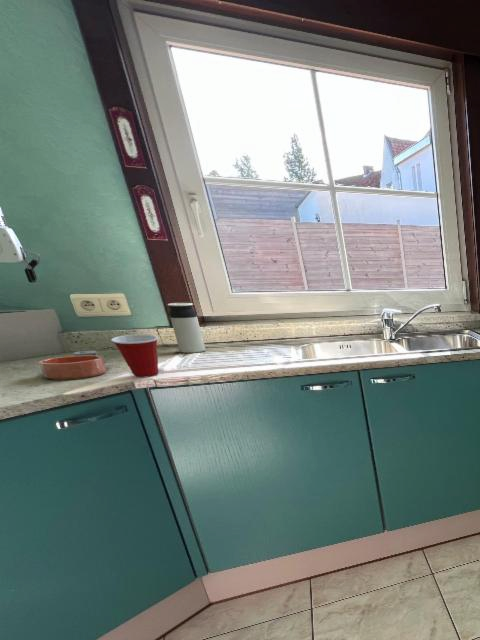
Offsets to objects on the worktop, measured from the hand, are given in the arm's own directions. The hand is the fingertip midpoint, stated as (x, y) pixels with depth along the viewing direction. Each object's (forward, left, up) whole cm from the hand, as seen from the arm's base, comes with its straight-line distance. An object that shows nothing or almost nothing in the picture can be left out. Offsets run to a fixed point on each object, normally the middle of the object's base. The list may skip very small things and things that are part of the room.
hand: (11, 282), depth 154 cm
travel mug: (+38, +13, -26) cm, 48 cm away
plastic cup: (+32, -29, -26) cm, 51 cm away
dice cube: (+14, -9, -26) cm, 31 cm away
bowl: (+14, -22, -26) cm, 37 cm away
